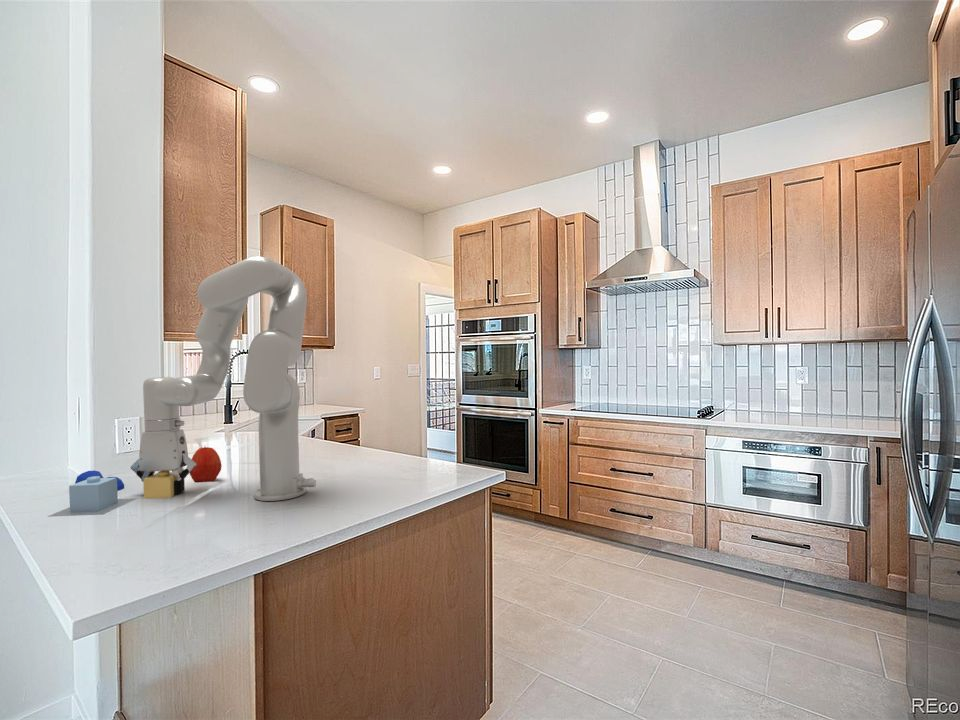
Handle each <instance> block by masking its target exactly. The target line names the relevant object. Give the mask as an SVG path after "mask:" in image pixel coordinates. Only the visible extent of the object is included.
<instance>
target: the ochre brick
mask: <svg viewBox="0 0 960 720" xmlns="http://www.w3.org/2000/svg"><path fill="white" fill-rule="evenodd" d="M174 481H176V478H175V476H174V474H173V472H172V471H157V472H156V473H154V475H152V476H150V477H147V478H145V479H143V482H142V483H143V485H142V486H143V499H165V498H172V497H175V495H174Z"/></svg>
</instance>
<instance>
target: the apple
mask: <svg viewBox="0 0 960 720" xmlns="http://www.w3.org/2000/svg"><path fill="white" fill-rule="evenodd" d="M191 459H192V460H193V461H194V462H195V463H196V466H195V467H194V468H193V469H192V470H191V472H190V473H189V476H190V477H191V479H192V480H193V482H194V483H212V482H214V481H216V480H217V478H218V476H219V474H220V473H221V471H222V466H223V465H222V460H221V456H220V455H219V453H218V452H217V451H216V449H215V448H213V447H209V446H204V447H199V448H198V449H196V451H194V454H193V455H192V457H191Z"/></svg>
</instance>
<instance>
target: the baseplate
mask: <svg viewBox="0 0 960 720" xmlns="http://www.w3.org/2000/svg"><path fill="white" fill-rule="evenodd" d="M137 499H138V498H136V497H135V498H134V497H133V498H132V497H131V498H118V502H117V503H115V504H113V505H111V506H108V507H106V508H104V509H102V510H100V511H78V512H70V506H69V507H66V508H65V509H62V510H60V511H57V512H55V513H52V514H49V515H47V517H48V518H49V517H50V518H51V517H69V516H70V517H73V516H74V517H75V516H94V515H95V516H97V515H98V516H99V515H102V516H103V515H106V514H107V513H109V512H111V511H113V510H115V509H118V508H120V507H122V506H124V505H126V504H129V503H131V502H132V501H135V500H137Z"/></svg>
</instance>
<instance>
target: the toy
mask: <svg viewBox="0 0 960 720" xmlns="http://www.w3.org/2000/svg"><path fill="white" fill-rule="evenodd" d="M93 476H100V478H104V477H103V475H102V473H101V471H98V470H87V471H84V472H82V473H80V474H78V475H77V477H76V479H75V482H74V484H76V483H78V482H81V481H84V480H87V478H89V477H93ZM106 478H117V492H119V491H122V490H124V489H125V483H124V481H122V479H121V478H119V477H118V476H107V477H106Z"/></svg>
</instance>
